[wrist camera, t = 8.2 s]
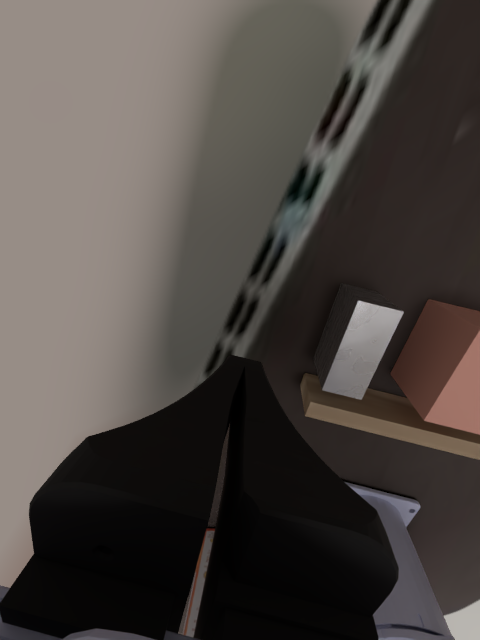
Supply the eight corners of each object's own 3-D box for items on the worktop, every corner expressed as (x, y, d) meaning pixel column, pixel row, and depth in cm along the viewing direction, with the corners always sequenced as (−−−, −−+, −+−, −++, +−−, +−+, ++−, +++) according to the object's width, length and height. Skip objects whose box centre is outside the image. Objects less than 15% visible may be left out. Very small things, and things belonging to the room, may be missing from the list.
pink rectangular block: (442, 386, 20) (492, 437, 16) (389, 373, 20) (423, 420, 16) (487, 313, 18) (561, 348, 13) (427, 298, 18) (480, 328, 14)
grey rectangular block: (345, 366, 21) (361, 399, 17) (312, 358, 21) (322, 390, 17) (377, 291, 18) (403, 311, 15) (340, 282, 18) (358, 300, 15)
